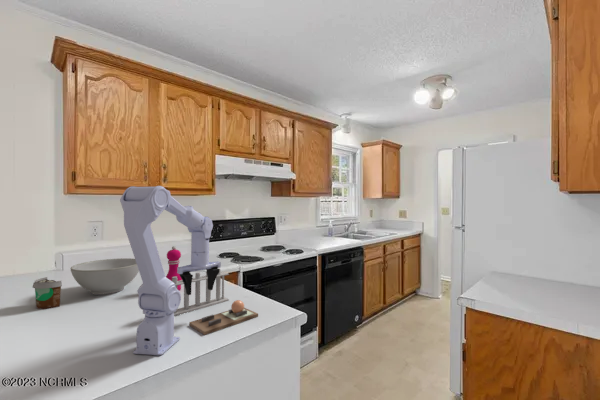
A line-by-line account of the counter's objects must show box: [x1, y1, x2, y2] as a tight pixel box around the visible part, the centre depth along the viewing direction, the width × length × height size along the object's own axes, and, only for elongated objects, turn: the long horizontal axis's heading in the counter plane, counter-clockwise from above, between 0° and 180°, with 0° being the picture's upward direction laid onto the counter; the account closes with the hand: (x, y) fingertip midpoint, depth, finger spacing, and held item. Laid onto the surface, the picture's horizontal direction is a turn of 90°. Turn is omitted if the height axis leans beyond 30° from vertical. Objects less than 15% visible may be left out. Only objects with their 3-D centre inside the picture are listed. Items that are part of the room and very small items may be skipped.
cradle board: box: [188, 307, 259, 336], centre depth 96 cm, size 20×10×2 cm, turn 136°
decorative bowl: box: [69, 257, 140, 295], centre depth 130 cm, size 27×27×12 cm
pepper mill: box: [165, 245, 182, 291], centre depth 131 cm, size 7×7×20 cm
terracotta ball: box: [230, 299, 245, 313], centre depth 100 cm, size 4×4×4 cm
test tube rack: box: [172, 268, 230, 317], centre depth 109 cm, size 25×4×13 cm, turn 138°
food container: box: [32, 276, 63, 310], centre depth 109 cm, size 12×6×10 cm, turn 62°
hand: (199, 291), depth 97 cm, fingers open, 7 cm apart
